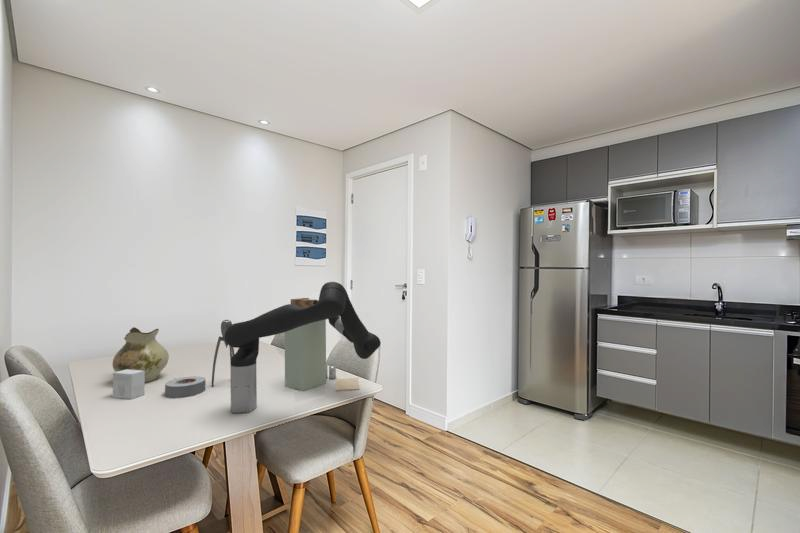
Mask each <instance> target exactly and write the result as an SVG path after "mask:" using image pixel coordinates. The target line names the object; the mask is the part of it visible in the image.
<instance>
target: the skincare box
mask: <svg viewBox="0 0 800 533" xmlns="http://www.w3.org/2000/svg"><path fill="white" fill-rule="evenodd" d="M145 383H146V382H145V371H141V370H129V369H126V370H122V371H117V372H115V371H114V372H112V398H114V397H115V399H116V398H117V399H118V398H119V399H125V400H133V399H135V398H136V399H137V398H139V397H142V396H144V395H145V391H146V390H145V388H146V386H145Z"/></svg>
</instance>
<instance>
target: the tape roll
mask: <svg viewBox="0 0 800 533" xmlns="http://www.w3.org/2000/svg"><path fill="white" fill-rule="evenodd" d="M204 392H206V377H203V376H192V375H191V376H184V377H177V378H174V379H170V380H167V381H166V382H165V384H164V394H165V395H164V396H165V397H166V398H168V399H182V398H184V399H185V398H188V397H189V398H190V397H194V396H197V394H198V395H200V394H202V393H204Z"/></svg>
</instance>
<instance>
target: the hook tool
mask: <svg viewBox="0 0 800 533" xmlns="http://www.w3.org/2000/svg"><path fill="white" fill-rule="evenodd" d="M314 300H315V299H310V298H309V297H300V298H291V299H290V304H293V305H297V306H300V307H303V308H306V307H309V306H312V305H314V304H313V302H314ZM316 300H317V301H319V299H316Z"/></svg>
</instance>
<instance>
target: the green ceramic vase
mask: <svg viewBox="0 0 800 533" xmlns="http://www.w3.org/2000/svg"><path fill="white" fill-rule="evenodd" d="M159 331H160V329H159V328H156V329H153V330H152V331H149V332H142V331H141V330H140V329H139V328H137V327H131V328H130V329H129V332H128V333H127V334H125V336H124V340H125V344H124V345H123V346H122V347H121V348H120V349H119V350H118V351H117V352H116V353H115V354H114V357H113V359H112V369H113V370H114V372H117V371H122V370H126V369H129V370H141V371H145V383H149V382H153V381H154V380H156V379H157V378H158V375H159V374H160V373H161V372H162V371H163V370H164V369H165V368H166V366H167V365H168V362H169V357H170V356H169V352H168V350H167V349H166V348H165V347H164V346H163V345H162V344H161V343H160V342H158V341H157V340H156V336H157V335H158V333H159Z"/></svg>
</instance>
